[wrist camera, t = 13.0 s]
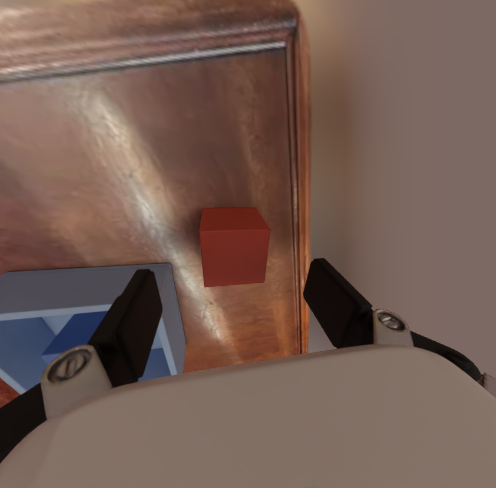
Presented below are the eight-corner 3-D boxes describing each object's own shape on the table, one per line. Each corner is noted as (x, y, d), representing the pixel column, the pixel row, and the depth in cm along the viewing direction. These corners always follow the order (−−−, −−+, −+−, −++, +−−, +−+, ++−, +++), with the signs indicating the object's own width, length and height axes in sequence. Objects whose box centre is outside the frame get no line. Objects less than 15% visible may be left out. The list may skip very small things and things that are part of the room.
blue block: (79, 306, 16) (39, 356, 12) (132, 301, 17) (109, 347, 13) (96, 336, 18) (67, 386, 15) (143, 331, 19) (126, 377, 15)
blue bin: (6, 271, 14) (-72, 320, 10) (170, 262, 16) (157, 300, 12) (72, 358, 20) (39, 410, 16) (186, 343, 22) (180, 386, 18)
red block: (202, 207, 14) (198, 231, 10) (256, 207, 15) (271, 229, 11) (206, 254, 16) (204, 287, 13) (253, 252, 17) (264, 282, 13)
